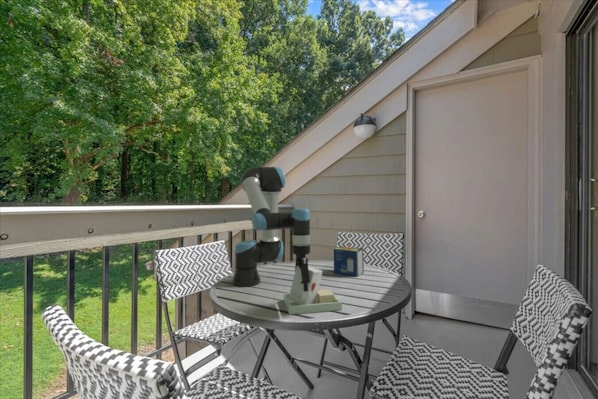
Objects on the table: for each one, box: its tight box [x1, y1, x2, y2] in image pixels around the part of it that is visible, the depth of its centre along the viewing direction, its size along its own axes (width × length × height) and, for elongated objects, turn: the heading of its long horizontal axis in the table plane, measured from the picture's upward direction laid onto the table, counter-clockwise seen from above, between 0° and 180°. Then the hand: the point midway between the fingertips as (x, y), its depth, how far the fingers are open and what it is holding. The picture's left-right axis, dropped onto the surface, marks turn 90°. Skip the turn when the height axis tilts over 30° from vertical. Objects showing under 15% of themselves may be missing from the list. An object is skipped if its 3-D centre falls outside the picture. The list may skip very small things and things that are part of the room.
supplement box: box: [288, 265, 323, 305], centre depth 135 cm, size 9×9×15 cm
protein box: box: [333, 245, 365, 278], centre depth 191 cm, size 10×15×16 cm
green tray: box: [283, 292, 343, 315], centre depth 135 cm, size 17×22×4 cm
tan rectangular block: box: [316, 288, 335, 304], centre depth 137 cm, size 8×6×5 cm
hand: (302, 293), depth 135 cm, fingers open, 13 cm apart
